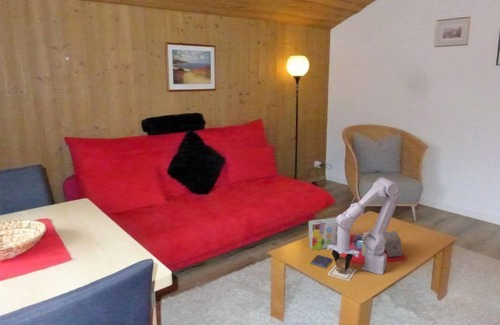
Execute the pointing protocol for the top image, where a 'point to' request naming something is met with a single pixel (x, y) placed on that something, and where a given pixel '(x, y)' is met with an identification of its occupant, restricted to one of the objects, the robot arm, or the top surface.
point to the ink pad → (321, 261)
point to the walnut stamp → (341, 264)
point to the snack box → (322, 233)
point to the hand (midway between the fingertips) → (342, 266)
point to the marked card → (341, 275)
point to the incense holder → (393, 244)
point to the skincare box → (363, 244)
